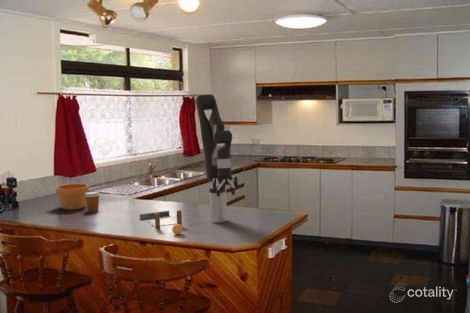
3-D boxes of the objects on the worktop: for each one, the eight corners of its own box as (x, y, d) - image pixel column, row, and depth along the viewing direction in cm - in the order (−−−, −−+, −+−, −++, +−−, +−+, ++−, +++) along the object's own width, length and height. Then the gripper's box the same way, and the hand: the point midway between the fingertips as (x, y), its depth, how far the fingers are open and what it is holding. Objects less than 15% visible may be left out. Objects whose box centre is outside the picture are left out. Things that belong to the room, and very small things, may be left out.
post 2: (176, 226, 302) (176, 210, 301) (181, 225, 303) (180, 210, 302) (178, 227, 300) (177, 211, 299) (182, 226, 301) (181, 210, 300)
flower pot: (96, 204, 369) (94, 183, 367) (76, 211, 349) (75, 189, 347) (70, 203, 376) (69, 182, 374) (50, 210, 357) (49, 188, 355)
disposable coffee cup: (87, 212, 344) (86, 194, 343) (84, 210, 352) (83, 192, 351) (102, 211, 348) (101, 192, 347) (98, 208, 357) (97, 190, 355)
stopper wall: (139, 219, 323) (139, 214, 322) (168, 215, 330) (168, 210, 329) (140, 219, 321) (140, 214, 320) (169, 216, 328) (169, 211, 328)
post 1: (154, 229, 297) (154, 213, 296) (159, 228, 298) (158, 212, 297) (156, 230, 295) (155, 214, 294) (160, 229, 296) (159, 213, 295)
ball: (171, 233, 286) (170, 223, 285) (181, 232, 288) (180, 222, 287) (174, 236, 281) (173, 225, 280) (184, 234, 283) (184, 224, 282)
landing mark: (146, 221, 315) (146, 221, 315) (169, 218, 321) (169, 218, 321) (153, 226, 302) (153, 226, 302) (176, 223, 308) (176, 223, 308)
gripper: (233, 165, 301) (234, 193, 303) (209, 167, 295) (211, 196, 297) (238, 166, 294) (240, 195, 296) (214, 168, 289) (216, 198, 290)
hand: (225, 195), depth 296 cm, fingers open, 8 cm apart
